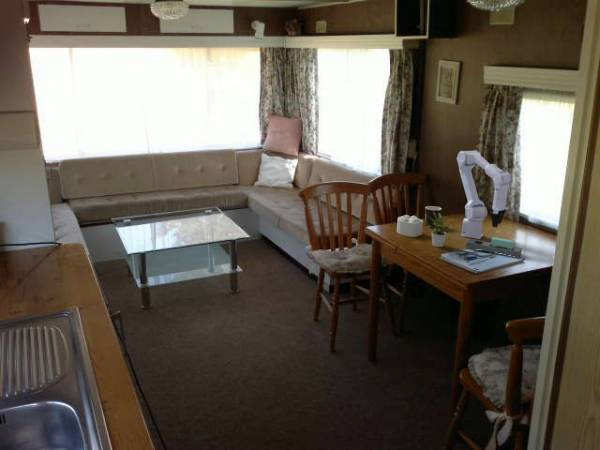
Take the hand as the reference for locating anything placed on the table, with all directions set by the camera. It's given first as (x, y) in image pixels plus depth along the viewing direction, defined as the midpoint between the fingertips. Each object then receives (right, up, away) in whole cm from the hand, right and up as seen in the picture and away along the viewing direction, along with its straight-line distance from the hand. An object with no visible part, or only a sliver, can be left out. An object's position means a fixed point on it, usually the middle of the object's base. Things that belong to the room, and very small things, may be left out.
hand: (496, 225), depth 266 cm
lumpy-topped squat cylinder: (-39, -4, +19) cm, 44 cm away
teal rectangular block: (-1, -12, -9) cm, 15 cm away
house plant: (-30, -10, +1) cm, 31 cm away
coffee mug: (-25, -1, +30) cm, 39 cm away
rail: (-4, -12, -7) cm, 15 cm away
